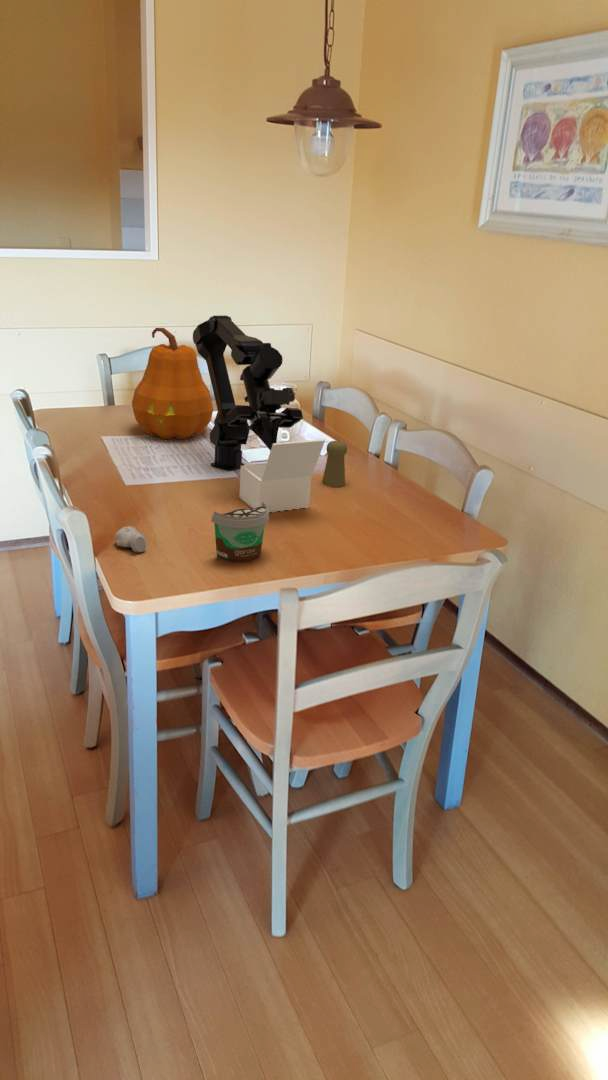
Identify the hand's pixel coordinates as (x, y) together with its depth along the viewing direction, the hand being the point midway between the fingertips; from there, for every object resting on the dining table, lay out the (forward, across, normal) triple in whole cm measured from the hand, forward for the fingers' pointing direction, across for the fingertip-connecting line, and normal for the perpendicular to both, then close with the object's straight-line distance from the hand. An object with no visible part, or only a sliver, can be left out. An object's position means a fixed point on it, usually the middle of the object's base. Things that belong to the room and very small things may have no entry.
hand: (273, 450), depth 189 cm
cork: (+6, +23, +8) cm, 25 cm away
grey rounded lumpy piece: (+20, -39, +4) cm, 44 cm away
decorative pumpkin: (-28, +8, +53) cm, 61 cm away
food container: (+28, -22, -10) cm, 36 cm away
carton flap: (+6, -2, -8) cm, 10 cm away
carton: (+11, +1, +6) cm, 12 cm away
